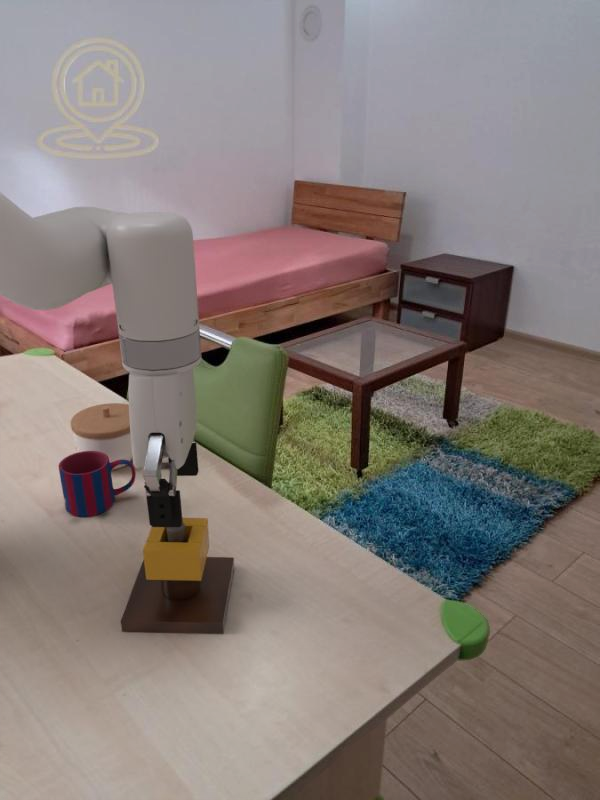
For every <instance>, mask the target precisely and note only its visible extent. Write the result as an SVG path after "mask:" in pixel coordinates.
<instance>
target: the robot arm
mask: <svg viewBox="0 0 600 800" xmlns="http://www.w3.org/2000/svg"><path fill="white" fill-rule="evenodd" d="M194 247H195V244H194V234H193V228H192V226H191V224H190V222H189V221H188V220H187V218H186V217H184V216H182V215H180V214H177V213H174V212H166V211H165V212H163V211H142V212H132V213H128V212H122V211H121V212H120V211H116V210H110V209H105V208H100V207H95V206H94V207H93V206H75V207H69V208H66V209H62V210H58V211H53V212H49V213H45V214H42V215H38V216H34V217H32V216H31V215H30V214H28V213H27V212H25V211H24V210H23V209H22V208H20V207H19V206H18V205H17V204H15V202H13V201H12V200H10V198H8V197H7V196H6V195H4V194H3V193H2V192H1V191H0V296H2V297H4V298H5V299H6V300H9V301H10V302H13V303H14V304H16V305H18V306H20V307H23V308H26V309H30V310H33V311H51V310H56V309H60V308H62V307H64V306H66V305H68V304H70V303H72V302H74V301H76V300H78V299H79V298H81V297H83V296H85V295H86V294H88V293H90V292H93V291H96V290H98V289H101V288H104V287H107V286H109V285H112V292H113V299H114V307H115V309H114V310H115V315H116V323H117V332H118V338H119V347H120V355H121V363H122V368H123V369H124V370H125V371H127V372H129V374H128V405H129V418H130V432H131V445H132V457H133V458H132V464H133V466H134V468H135V469H136V470H141V469H143V470H142V471H143V472H142V476H143V481H144V485H143V487H144V491H145V492H144V495H145V497H146V504H147V514H148V523H149V525H150V527H151V528H152V527H181V525H182V522H183V519H182V518H183V509H182V499H181V491H180V490H179V489H177V487H178V486H177V483H178V477H186V476H187V477H196V476H197V475H198V474H199V461H198V460H199V459H198V458H199V457H198V448H197V447H198V446H197V442H196V432H197V428H198V427H197V426H198V409H197V407H198V406H197V396H196V394H197V393H196V384H195V375H194V369H195V368H196V367H198V366H199V365H200V364H201V363H202V360H203V357H202V345H201V344H202V342H201V332H200V331H201V330H200V319H199V318H200V317H199V302H198V301H199V300H198V289H197V277H196V276H197V275H196V260H195V248H194ZM163 458H167V459H168V461H164V462H163ZM162 471H168V473H169V476H168V480H167V479H166V478H162V477H163V476H162Z"/></svg>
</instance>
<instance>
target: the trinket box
mask: <svg viewBox="0 0 600 800" xmlns="http://www.w3.org/2000/svg"><path fill="white" fill-rule="evenodd" d="M70 429H71V431H72V436H73V440H74V445H75V447H76V449H77V452H83V451H98V452H102V453H104V454H106V455H107V456H108V457H109V462H110V463H111V462H114V461H117V460H121V459H125V460H129V461H130V462H132V460H133V457H132V445H131V432H130V418H129V404H126V403H119V402H118V403H116V402H115V403H113V402H111V403H101V404H96V405H92V406H89V407H86V408H83V409H81V410H80V411H78V412H76V413H75V414H74V415H73V416H72V417H71V420H70ZM126 466H127V465H126V464H120V465H117V466H116V467H114V468H113V469H112V470H111V471H113V470H119V469H121V468H124V467H126Z"/></svg>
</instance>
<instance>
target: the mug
mask: <svg viewBox="0 0 600 800" xmlns="http://www.w3.org/2000/svg"><path fill="white" fill-rule="evenodd" d="M120 464H126V466H128V467H129V469H130V470H131V478H130V480H129V482H127V483H126V484H125V485H123V486H121V487H118V488H114V484H113V477H112V471H113V470H112V469H113V468H114V467H116V466H117V465H120ZM58 473H59V477H60V484H61V489H62V495H63V501H64V502H63V503H64V505H65V506H64V507H65V510H66V512H67V513H68V514H69V515H71V516H74V517H81V518H83V517H84V518H86V517H93V516H98V515H101V514H102V513H104V512H106V511H108V510H109V509H110V508H111V507H112V506H113V505H114V503H115V496H117V495H120V494H122V493H124V492H126V491H128V490H129V489H130V488H131V487H132V486H133V485H134V483H135V481H136V475H137V474H136V468H135V466H134V465H133V462H132V461H129V460H125V459H121V460H117V461H114V462H111V463H110V462H109V457H108V456H107V455H106V454H104V453H102V452H98V451H83V452H79V451H77V452H75V453H72V454H69V455H67V456H66V457H64V458H63V459H62V460H61V461H60V462H59V463H58Z"/></svg>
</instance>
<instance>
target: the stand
mask: <svg viewBox="0 0 600 800" xmlns="http://www.w3.org/2000/svg"><path fill="white" fill-rule="evenodd" d="M167 538H168V542H185V543H186V531H185V524H184V523H183V522H182V525H181V527H167ZM234 571H235V557H232V556H230V557H229V556H207V558H206V562H205V566H204V571H203V575H202V579H201V581H189V580H147V579H146V572H145V564H144V559H143V560H142V562H141V565H140V568H139V571H138V573H137V575H136V579H135V582H134V584H133V586H132V589H131V591H130V595H129V597H128V600H127V603H126V605H125V608H124V610H123V614H122V616H121V619H120V628H121V632H125V633H126V632H129V633H131V632H132V633H175V634H178V633H182V634H224V630H225V627H226V619H227V613H228V607H229V601H230V596H231V589H232V584H233V583H232V582H233V578H234Z"/></svg>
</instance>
